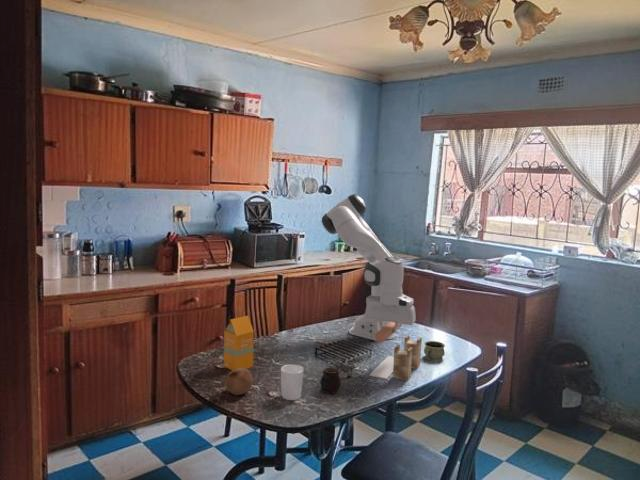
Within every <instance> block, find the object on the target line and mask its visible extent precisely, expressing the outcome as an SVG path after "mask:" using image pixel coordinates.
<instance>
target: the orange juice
mask: <svg viewBox="0 0 640 480" xmlns="http://www.w3.org/2000/svg"><path fill="white" fill-rule="evenodd" d="M251 322H252V321H251V320H250V318H249V315H244V316H239V317H236V318H232V319H230V320H229V322H228V324H227V326H226V327H225V330H224V333H223V334H224V338H223V344H224V346H223V367H224V368H225V369H229V370H231V371H233V370H234V369H237V368H240V367H241V368H245V369H249V368H251V367H253V366H254V352H255V351H254V347H255V346H254V339H255V335H254V334H255V330H254V329H253V328H254V327H253V325H252V323H251ZM224 363H225V364H227V365H229V366H227V365H225V364H224ZM247 365H248V366H247ZM232 367H233V368H232Z"/></svg>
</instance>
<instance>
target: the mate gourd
mask: <svg viewBox="0 0 640 480" xmlns="http://www.w3.org/2000/svg"><path fill="white" fill-rule="evenodd" d="M341 366H342V364H341V365H340V366H339V367H338V368H333V367H329V366H328V367H325V368H323V369H322V370H323V373H322V374H323V375H322V376H321V378H320V381H319V383H320V388H321V390H322V391H323V392H324V393H326V394H335V393H337V392H338V391H339V389H340V387H341V380H340V379H341V378H340V377H339V375H338V374H339V370H338V369H339V368H340V367H341Z"/></svg>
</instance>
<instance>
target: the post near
mask: <svg viewBox="0 0 640 480" xmlns="http://www.w3.org/2000/svg"><path fill="white" fill-rule="evenodd" d="M400 348H401V347H400V344H397V345H396V346H395V347H394V351H393V357H394V364H393V373H392V378H393V379H397V380H402V381H405V382H408V381H409V380H410V379H411V377H412V375H411V374H412V368H411V364H412V349H413V348H412V347H410V348H409V349H408V350H407V352H406V351H404V350H401V349H400Z"/></svg>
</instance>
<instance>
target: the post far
mask: <svg viewBox="0 0 640 480" xmlns="http://www.w3.org/2000/svg"><path fill="white" fill-rule="evenodd" d="M422 339H423V337H418V338H417V339H416V340H410V335H408V334H407V335H406V336H405V337H404V344H403V347H404V348H403V351H406V352H407V350H408V349H409V348H410V347H412V348H413V349H412V364H411V369H416V370H417V369H419V367H421V355H422V352H421V351H422Z"/></svg>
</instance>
